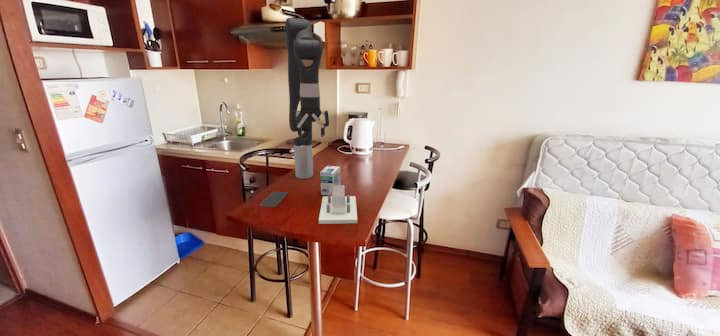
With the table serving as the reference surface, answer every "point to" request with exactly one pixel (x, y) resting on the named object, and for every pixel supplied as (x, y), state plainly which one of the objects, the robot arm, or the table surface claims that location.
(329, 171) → the light bulb box
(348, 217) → the peg board
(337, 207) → the plate
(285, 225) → the table surface
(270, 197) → the smartphone
